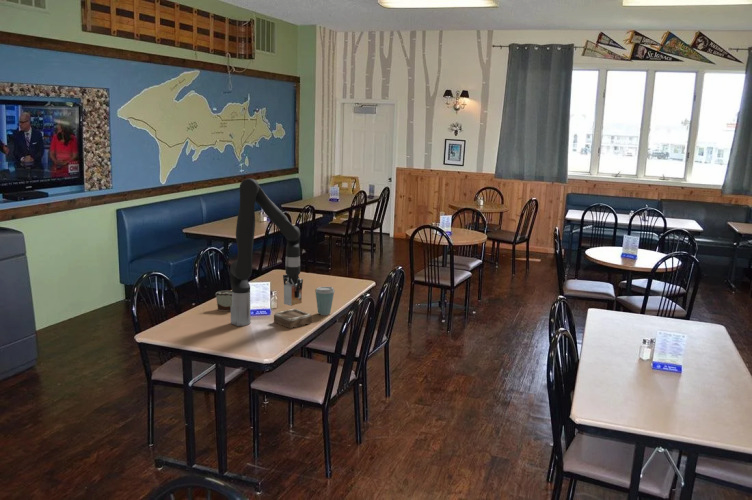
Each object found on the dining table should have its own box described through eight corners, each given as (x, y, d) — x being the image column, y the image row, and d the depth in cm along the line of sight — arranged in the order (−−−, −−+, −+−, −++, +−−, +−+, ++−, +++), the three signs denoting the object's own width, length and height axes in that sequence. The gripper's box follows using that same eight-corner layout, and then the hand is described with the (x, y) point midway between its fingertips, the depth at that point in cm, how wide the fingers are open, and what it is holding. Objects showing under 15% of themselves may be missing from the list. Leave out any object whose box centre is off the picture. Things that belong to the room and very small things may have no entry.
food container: (240, 308, 361) (240, 290, 359) (237, 311, 355) (236, 293, 353) (219, 306, 362) (218, 289, 360) (215, 310, 356) (215, 292, 354)
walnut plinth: (290, 328, 329) (290, 319, 328) (273, 322, 338) (273, 313, 337) (311, 323, 338) (311, 314, 337) (295, 317, 348) (295, 308, 347)
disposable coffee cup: (310, 314, 353) (311, 288, 350) (321, 309, 363) (321, 284, 360) (327, 317, 349) (327, 291, 346) (337, 312, 358) (338, 286, 355)
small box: (291, 306, 332) (291, 286, 329) (283, 304, 335) (283, 284, 333) (302, 303, 338) (302, 283, 336) (294, 301, 341) (294, 281, 339)
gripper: (278, 263, 334) (278, 294, 338) (295, 268, 324) (295, 300, 328) (290, 261, 340) (290, 292, 343) (307, 266, 330) (307, 297, 333)
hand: (292, 296), depth 335 cm, fingers closed on small box, 6 cm apart
